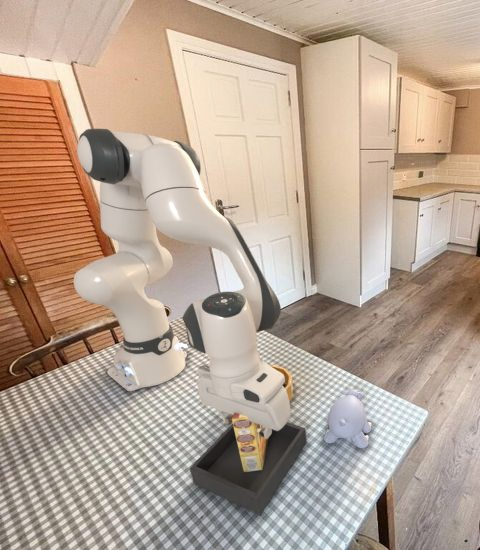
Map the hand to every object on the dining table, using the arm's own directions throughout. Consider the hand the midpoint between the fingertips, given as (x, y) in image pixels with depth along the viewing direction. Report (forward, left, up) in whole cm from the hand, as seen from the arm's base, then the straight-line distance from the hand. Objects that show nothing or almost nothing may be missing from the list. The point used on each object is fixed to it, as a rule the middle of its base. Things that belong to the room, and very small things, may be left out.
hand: (247, 428), depth 63 cm
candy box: (0, +2, -10) cm, 10 cm away
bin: (0, 0, -10) cm, 10 cm away
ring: (-10, +17, -10) cm, 22 cm away
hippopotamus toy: (+16, +16, -10) cm, 25 cm away
